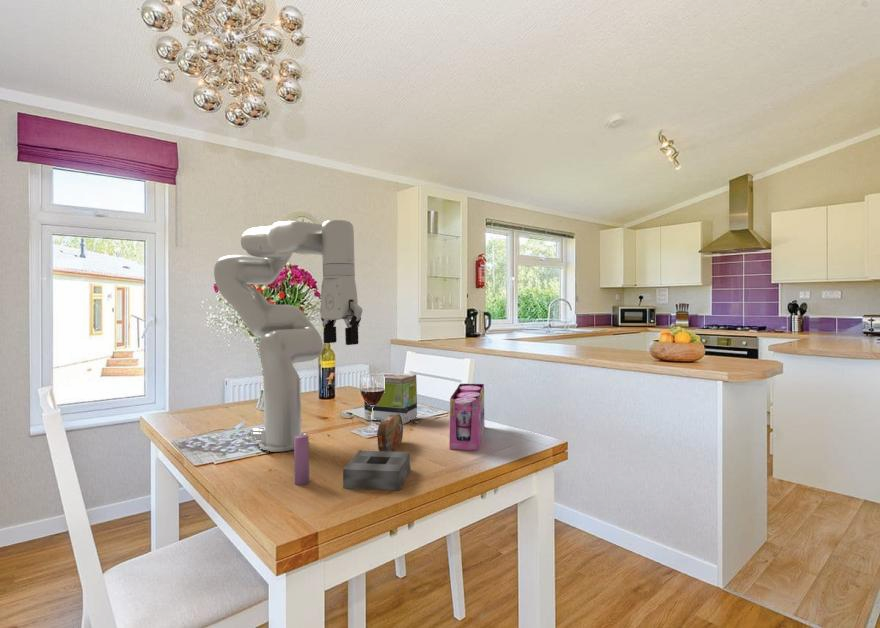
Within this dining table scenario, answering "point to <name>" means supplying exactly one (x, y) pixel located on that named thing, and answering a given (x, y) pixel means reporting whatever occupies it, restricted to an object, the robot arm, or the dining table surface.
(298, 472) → the peg
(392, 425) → the tin
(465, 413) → the gum box
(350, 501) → the dining table surface
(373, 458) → the hole block
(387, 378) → the tea box
